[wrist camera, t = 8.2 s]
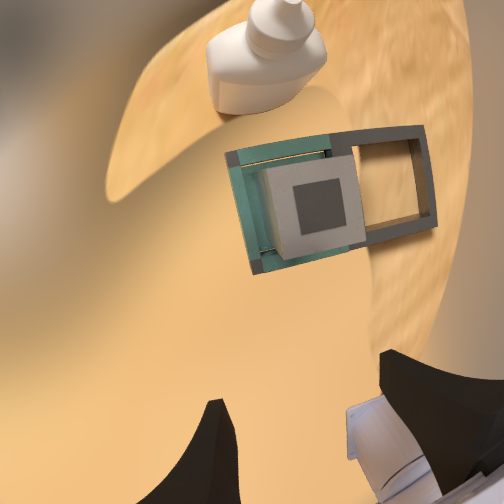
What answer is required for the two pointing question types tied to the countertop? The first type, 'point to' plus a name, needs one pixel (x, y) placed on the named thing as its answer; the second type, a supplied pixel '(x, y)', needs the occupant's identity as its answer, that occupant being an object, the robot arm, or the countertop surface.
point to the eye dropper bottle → (264, 58)
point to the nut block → (311, 206)
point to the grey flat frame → (331, 146)
